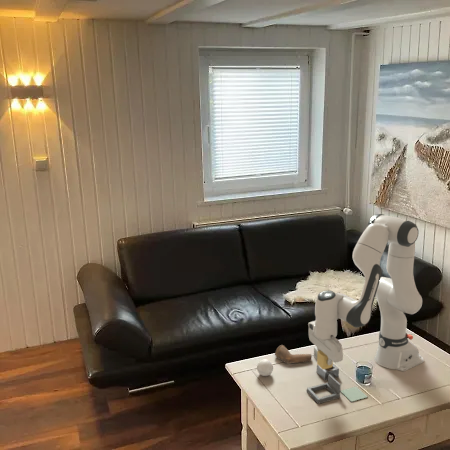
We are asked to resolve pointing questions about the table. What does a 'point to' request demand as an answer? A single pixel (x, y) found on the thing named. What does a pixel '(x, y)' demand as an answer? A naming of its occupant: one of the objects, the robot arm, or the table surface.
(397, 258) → the robot arm
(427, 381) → the table surface
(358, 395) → the pad
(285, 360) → the pipe
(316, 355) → the small box
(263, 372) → the white ovoid
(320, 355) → the block
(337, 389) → the case
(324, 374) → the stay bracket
